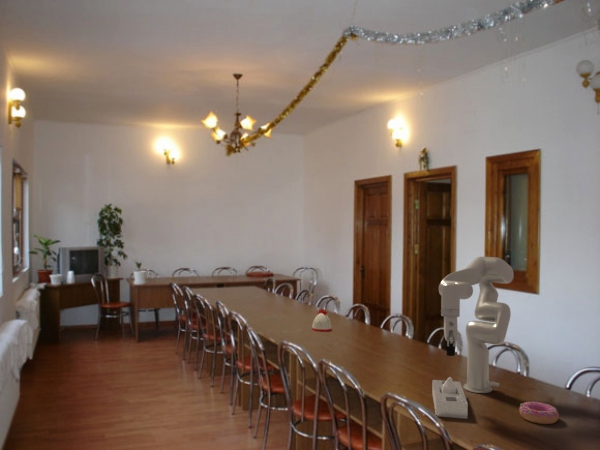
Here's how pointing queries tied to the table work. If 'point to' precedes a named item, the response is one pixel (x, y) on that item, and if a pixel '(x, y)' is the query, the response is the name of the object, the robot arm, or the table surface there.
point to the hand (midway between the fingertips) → (449, 352)
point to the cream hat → (321, 322)
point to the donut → (539, 412)
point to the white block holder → (449, 401)
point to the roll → (449, 387)
